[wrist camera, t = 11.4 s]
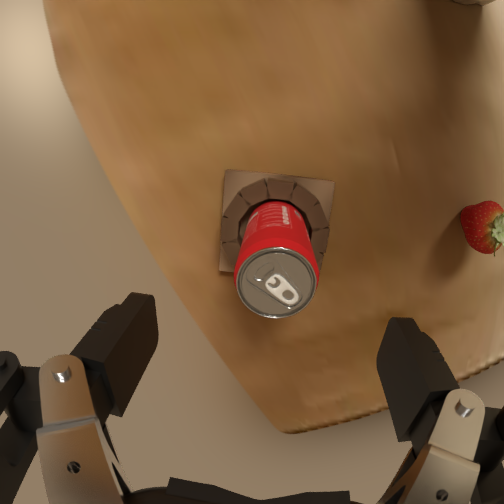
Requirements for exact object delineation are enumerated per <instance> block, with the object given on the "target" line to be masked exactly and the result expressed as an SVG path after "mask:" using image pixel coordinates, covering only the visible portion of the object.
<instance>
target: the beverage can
mask: <svg viewBox="0 0 504 504" xmlns="http://www.w3.org/2000/svg"><path fill="white" fill-rule="evenodd" d="M318 281H319V269H318V266H317V262H316V259H315V255H314V252H313V249H312V245H311V242H310V239H309V235H308V232H307V229H306V226H305V222H304V219H303V217H302V215H301V213H300V212H299V211H298V210H297V209H296V208H295V207H294V206H293V205H291V204H289V203H287V202H284V201H277V200H275V201H268V202H265V203H263V204H261V205H260V206H258V207H257V208H256V209H255V210H254V211H253V212H252V214H251V216H250V218H249V220H248V224H247V227H246V231H245V234H244V238H243V241H242V244H241V248H240V251H239V255H238V258H237V262H236V265H235V269H234V283H235V287H236V290H237V292H238V295H239V297H240V299H241V300H242V302H243V303H244V305H245V306H246V307H247V308H248V309H250V310H251V311H252V312H254V313H256V314H258V315H260V316H263V317H267V318H285V317H289V316H292V315H295V314H297V313H298V312H300V311H301V310H303V309H304V308H305V307H306V306H307V305H308V304H309V303H310V301H311V300H312V298H313V296H314V294H315V291H316V289H317V285H318Z"/></svg>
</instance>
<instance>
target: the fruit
mask: <svg viewBox="0 0 504 504" xmlns="http://www.w3.org/2000/svg"><path fill="white" fill-rule="evenodd" d="M460 218H461V224H462V228H463V230H464V233H465V236H466V239H467V241H468V243H469V245H470V246H471V247H472V248H474V249H475V250H477V251H478V252H481V253H484V254H491V253H493V252H494V257H495V251H496V250H498V249H499V248H500V246H501V245H502V244H503V246H504V210H503V209H502V208H501V206H500V205H499V204H497V203H496V202H493V201H484V202H481V203H479V204H476V205H470V206H467V207H465V208H464V209H463V210H462V212H461V216H460Z"/></svg>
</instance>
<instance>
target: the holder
mask: <svg viewBox="0 0 504 504" xmlns="http://www.w3.org/2000/svg"><path fill="white" fill-rule="evenodd" d="M334 187H335V182H334V181H329V180H322V179H315V178H307V177H299V176H291V175H282V174H273V173H264V172H253V171H243V170H231V169H227V170H225V182H224V197H223V213H222V222H221V239H220V241H221V247H220V266H219V271H226V272H234V269H235V265H236V262H237V258H238V255H239V251H240V248H241V244H242V241H243V238H244V234H245V231H246V227H247V224H248V220H249V218H250V216H251V214H252V212H253V211H254V210H255V209H256V208H257V207H258V206H260V205H261V204H263V203H265V202H268V201H275V200H277V201H284V202H287V203H289V204H291V205H293V206H294V207H295V208H296V209H297V210H298V211H299V212H300V213H301V215H302V217H303V219H304V222H305V226H306V229H307V232H308V235H309V239H310V242H311V245H312V249H313V252H314V255H315V259H316V262H317V266H318V269H319V275H320V270H321V264H322V259H323V256H324V255H323V254H324V253H326V247H327V242H328V236H329V230H330V229H329V227H328V226H329V219H330V213H331V206H332V200H333V193H334Z"/></svg>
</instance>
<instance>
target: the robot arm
mask: <svg viewBox="0 0 504 504" xmlns="http://www.w3.org/2000/svg"><path fill="white" fill-rule="evenodd" d="M453 1H455V2H457V3H461V4H469V5H470V4H474V3H477V4H480V5H482V6H484V5H486V4H488V3H491V2H493V1H495V0H453ZM157 344H158V324H157V316H156V307H155V299H154V297H153V295H148V294H141V293H134V292H132V293H130V294H129V295H128V297H127V298H126V299H125V300H124V302H123V303H122V304H121V305H119V304H116V305H114V306H113V307H111V308H109V309H107V310H106V311H104V313H103V314H102V315H101V316H100V317H99V319H98V320H97V322H95V323H94V325H93V326H92V327H91V329H89V331H88V332H87V333H86V335H85V336H84V337H83V338H82V339H81V341H80V342H79V343H78V344H77V346H76V347H75V348H74V350H73V351H72V352H71V353H70V354H69V355H67V354H65V355H58V356H54V357H52V358H50V359H48V360H47V361H46V362H45V363H44V364H43V365H42V366H41V367H26V366H25V367H24V366H21V365H20V362H19V360H18V358H17V356H16V355H15V354H14V353H12V352H9V351H1V352H0V415H1V414H2V412H3V411H5V413H6V414H7V416H8V417H7V419H6V420H5V422H4V424H3V425H2V427H1V428H0V504H12V503H13V501H14V498H15V496H16V494H17V491H18V489H19V487H20V485H21V483H22V481H23V479H24V477H25V474H26V472H27V470H28V468H29V466H30V464H31V462H32V460H33V458H34V456H35V454H36V452H37V450H38V451H39V457H40V463H41V468H42V474H43V479H44V483H45V487H46V492H47V497H48V500H49V504H362V503H358V502H354V501H350V494H349V491H337V492H305V493H300V494H296V495H290V496H285V497H279V498H273V499H267V500H257V499H252V498H250V497H246V496H243V495H240V494H237V493H234V492H231V491H228V490H226V489H223V488H220V487H217V486H215V485H209V484H203V483H198V482H192V481H187V480H182V479H177V478H173V477H170V479H169V483H168V486H167V487H152V488H146V489H141V490H137V491H133V489H132V486H131V484H130V482H129V481H128V478H127V477H126V474H125V472H124V470H123V468H122V465H121V462H120V460H119V457H118V455H117V452H116V449H115V446H114V444H113V441H112V438H111V435H110V432H109V429H108V426H107V424H106V420H107V418H108V416H109V414H112V415H115V416H119V417H122V416H123V414H124V412H125V410H126V408H127V406H128V403H129V401H130V399H131V397H132V395H133V393H134V391H135V389H136V387H137V385H138V383H139V381H140V379H141V377H142V375H143V373H144V371H145V369H146V367H147V365H148V363H149V361H150V359H151V357H152V355H153V354H154V352H155V350H156V347H157ZM377 371H378V374H379V377H380V380H381V383H382V386H383V390H384V393H385V396H386V400H387V403H388V406H389V410H390V413H391V417H392V420H393V424H394V427H395V431H396V435H397V439H398V442H402V441H411V442H412V445H413V446H412V447H411V449H410V450H409V451H408V454H407V455H406V457H405V459H404V461H403V463H402V464H401V466H400V468H399V470H398V472H397V474H396V475H395V477H394V478H393V480H392V482H391V484H390V485H389V487H388V489H387V490H386V492H385V493H384V494H383V496H382V497H381V498H380V500H379V501H378V502H377V503H376V504H469V502H471V504H504V468H503V465H502V461H503V460H504V406H503V408H502V409H498V408H490V407H484V404H483V402H482V400H481V399H480V398H479V397H478V396H477V395H476V394H474V393H473V392H471V391H469V390H465V389H460V387H459V385H458V383H457V381H456V379H455V378H454V376H453V374H452V372H451V370H450V368H449V366H448V365H447V363H446V361H444V357H443V356H442V354H441V353H440V350H439V349H438V347H437V345H436V343H435V342H434V340H432V339H431V338H430V337H429V336H428V335H427V334H426V333H424V332H421V331H420V329H419V327H418V326H417V324H416V322H415V321H414V319H413V318H401V317H392V318H391V319H390V320H389V322H388V325H387V328H386V331H385V334H384V337H383V340H382V343H381V345H380V348H379V351H378V354H377Z"/></svg>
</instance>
